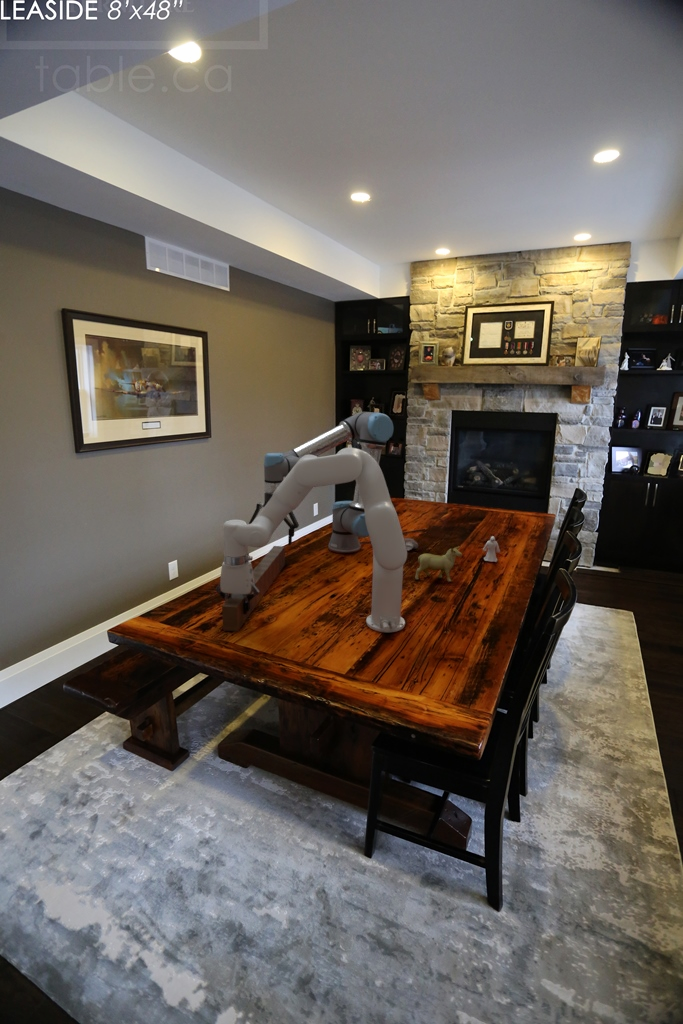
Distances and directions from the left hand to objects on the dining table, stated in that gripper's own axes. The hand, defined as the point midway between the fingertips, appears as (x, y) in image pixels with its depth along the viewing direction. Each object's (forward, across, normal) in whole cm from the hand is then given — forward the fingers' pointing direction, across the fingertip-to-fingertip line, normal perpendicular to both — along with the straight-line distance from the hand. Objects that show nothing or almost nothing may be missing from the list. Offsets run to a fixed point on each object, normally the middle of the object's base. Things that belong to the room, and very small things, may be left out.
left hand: (273, 543), depth 205 cm
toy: (+11, -67, -2) cm, 68 cm away
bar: (+12, 0, +23) cm, 26 cm away
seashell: (+11, -56, -39) cm, 69 cm away
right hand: (+9, 0, +46) cm, 47 cm away
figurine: (+11, -92, -30) cm, 97 cm away
